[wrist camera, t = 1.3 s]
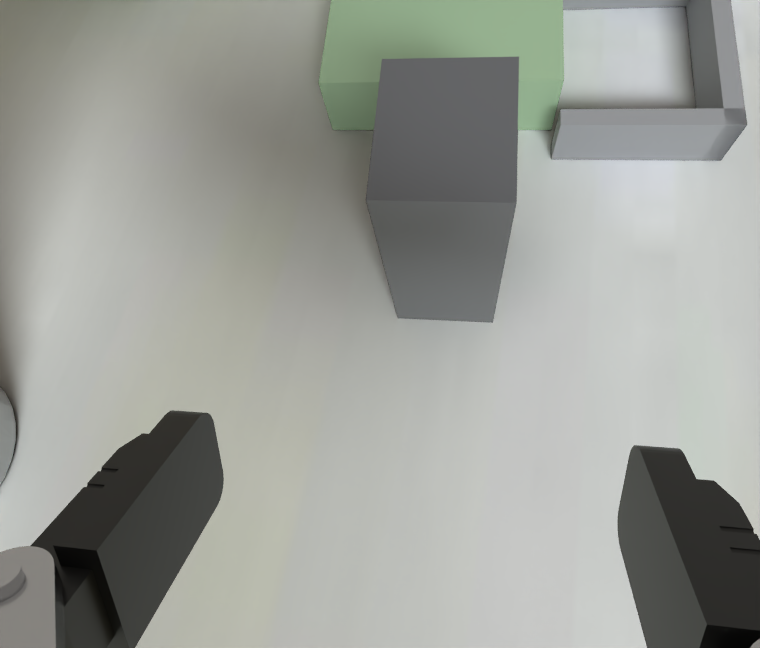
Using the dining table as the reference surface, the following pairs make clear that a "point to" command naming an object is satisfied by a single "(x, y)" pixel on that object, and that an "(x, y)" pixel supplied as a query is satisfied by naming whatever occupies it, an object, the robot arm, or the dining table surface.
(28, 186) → the dining table surface
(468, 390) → the dining table surface
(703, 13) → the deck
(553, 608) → the dining table surface
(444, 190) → the tall grey cuboid
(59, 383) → the dining table surface
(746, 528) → the robot arm
